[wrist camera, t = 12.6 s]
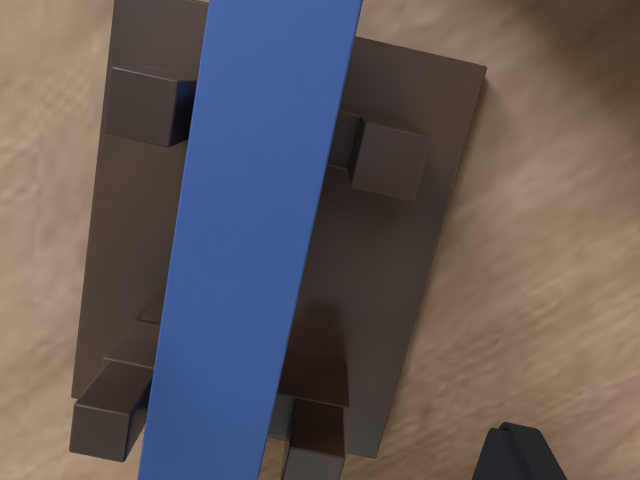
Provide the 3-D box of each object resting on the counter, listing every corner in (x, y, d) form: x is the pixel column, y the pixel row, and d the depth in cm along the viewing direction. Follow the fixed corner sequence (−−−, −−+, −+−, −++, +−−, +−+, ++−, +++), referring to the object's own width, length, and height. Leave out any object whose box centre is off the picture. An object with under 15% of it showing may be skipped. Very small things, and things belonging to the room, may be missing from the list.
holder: (480, 67, 19) (552, 61, 13) (374, 444, 23) (390, 580, 17) (127, -14, 19) (22, -61, 13) (81, 384, 23) (-16, 502, 17)
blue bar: (359, 6, 15) (365, -12, 12) (251, 502, 19) (235, 582, 16) (240, -21, 15) (215, -46, 12) (157, 484, 19) (124, 561, 16)
